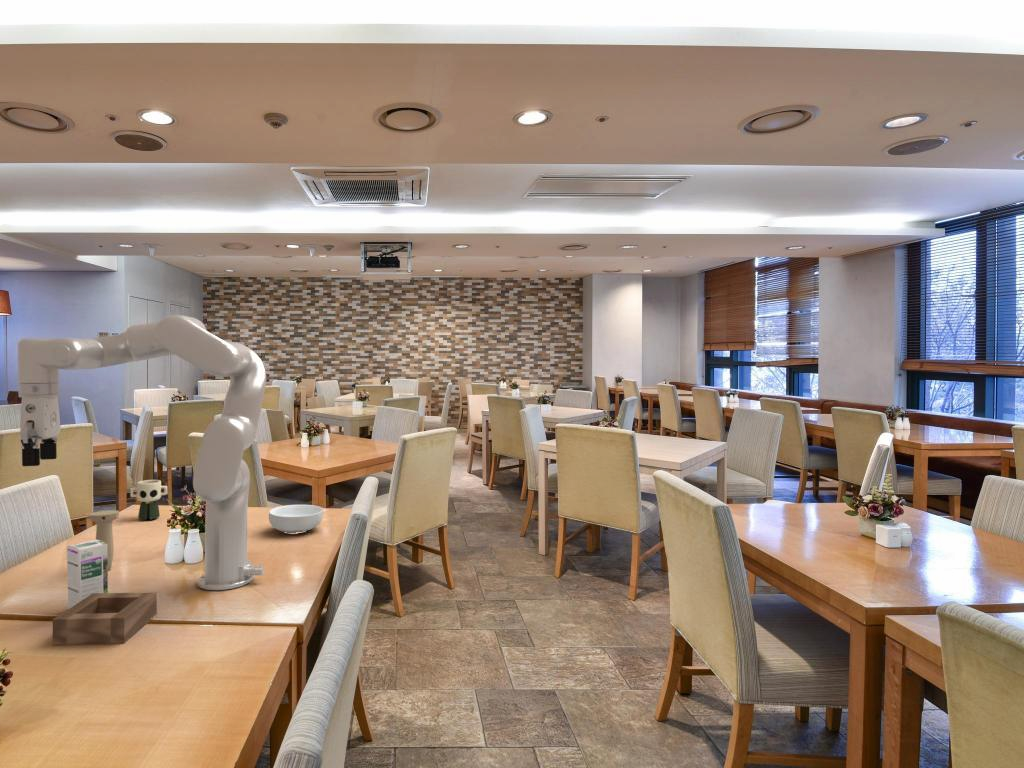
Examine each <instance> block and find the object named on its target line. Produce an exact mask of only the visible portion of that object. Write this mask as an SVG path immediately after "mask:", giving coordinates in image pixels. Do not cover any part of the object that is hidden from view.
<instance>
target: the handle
mask: <svg viewBox="0 0 1024 768" xmlns="http://www.w3.org/2000/svg"><path fill="white" fill-rule="evenodd" d="M88 515H89V517H88V519H89V521H92V522H95V524H96V529H95V532H96V533H95V539H96V540H100V541H103V542H105V543H107V549H108V550H107V551H108V571H110V570H112V566H113V564H112V563H113V560H114V550H115V549H114V535H113V521H114V520H116V519H118V518H119V517H120V510H100V511H95V512H90V513H89V514H88Z"/></svg>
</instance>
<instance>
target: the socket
mask: <svg viewBox="0 0 1024 768" xmlns="http://www.w3.org/2000/svg"><path fill="white" fill-rule="evenodd" d="M157 595H158V594H157V591H156V592H155V591H153V592H152V591H151V592H108V593H93V594H91V595H90V596H88V597H86V598H85V599H83V600H82V601H80V602H79V603H77V604H76V605H74V606H73V607H71V608H70V609H68V608H67V609H66V610H65V611H64V612H62V613H60V614H59V615H57V616H56V617H55V618H53V619H52V646H65V645H66V646H68V645H69V646H70V645H71V646H73V645H74V646H75V645H103V644H102V643H104V645H105V644H107V645H109V643H113V644H125V643H127V641H129V640H130V639H131V638H132V637H134V635H136V634H137V633H138V632H139V631H140V630H142V629H143V628H144V627H145V626H146V625H147V624H148V623H150V622H151V621H152V620H151V618H153V617H154V616H155V615H156V614H158V609H157V606H158V604H157V603H158V596H157ZM156 616H157V615H156ZM156 616H155V617H156ZM155 617H154V618H155ZM154 618H153V619H154ZM128 639H129V640H128Z"/></svg>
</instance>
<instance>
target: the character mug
mask: <svg viewBox="0 0 1024 768" xmlns="http://www.w3.org/2000/svg"><path fill="white" fill-rule="evenodd" d="M162 490H163V492H162ZM129 491H130V498H136V499H137V501H138V502H141V503H140V504H139V509H138V520H140V521H146V520H148V519H149V520H154V519H157V518H159V517H160V516H161V515H160V508H159V503H158V500H160V499H161V497H162V496H166V495H168V485H162V481H161V480H160V479H146V480H140V481H137V482H136V487H131V488H130V490H129ZM134 491H136V494H135V493H134Z"/></svg>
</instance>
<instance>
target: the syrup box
mask: <svg viewBox="0 0 1024 768" xmlns="http://www.w3.org/2000/svg"><path fill="white" fill-rule="evenodd" d="M107 550H108V549H107V543H105V542H103V541H100V540H96V538H95V539H92V540H89V541H84V542H80V543H74V544H70V545H67V546H66V566H67V567H66V571H67V572H66V575H67V610H68V609H70V608H71V607H73V606H74V605H76V604H77V603H79V602H80V601H82V600H83V599H85V598H86V597H88V596H90V595H91V594H93V593H109V590H108V589H109V586H108V585H109V583H108V582H109V573H108V572H109V570H108V551H107Z"/></svg>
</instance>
